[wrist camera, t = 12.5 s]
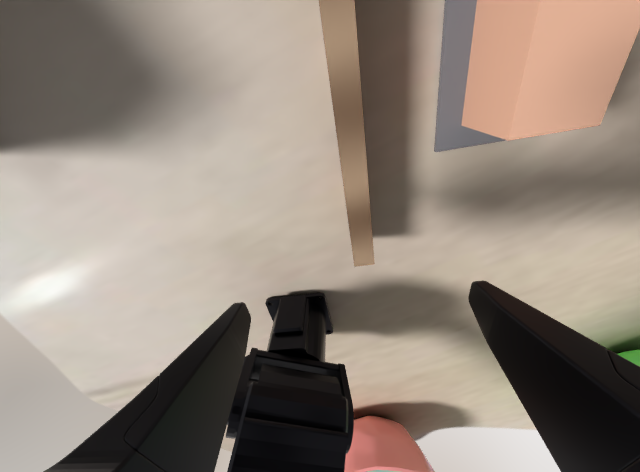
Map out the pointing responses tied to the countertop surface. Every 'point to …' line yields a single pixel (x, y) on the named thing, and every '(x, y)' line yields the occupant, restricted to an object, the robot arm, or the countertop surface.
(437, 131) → the mat
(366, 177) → the wooden corner wall
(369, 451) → the cell model
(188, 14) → the countertop surface
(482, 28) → the block
